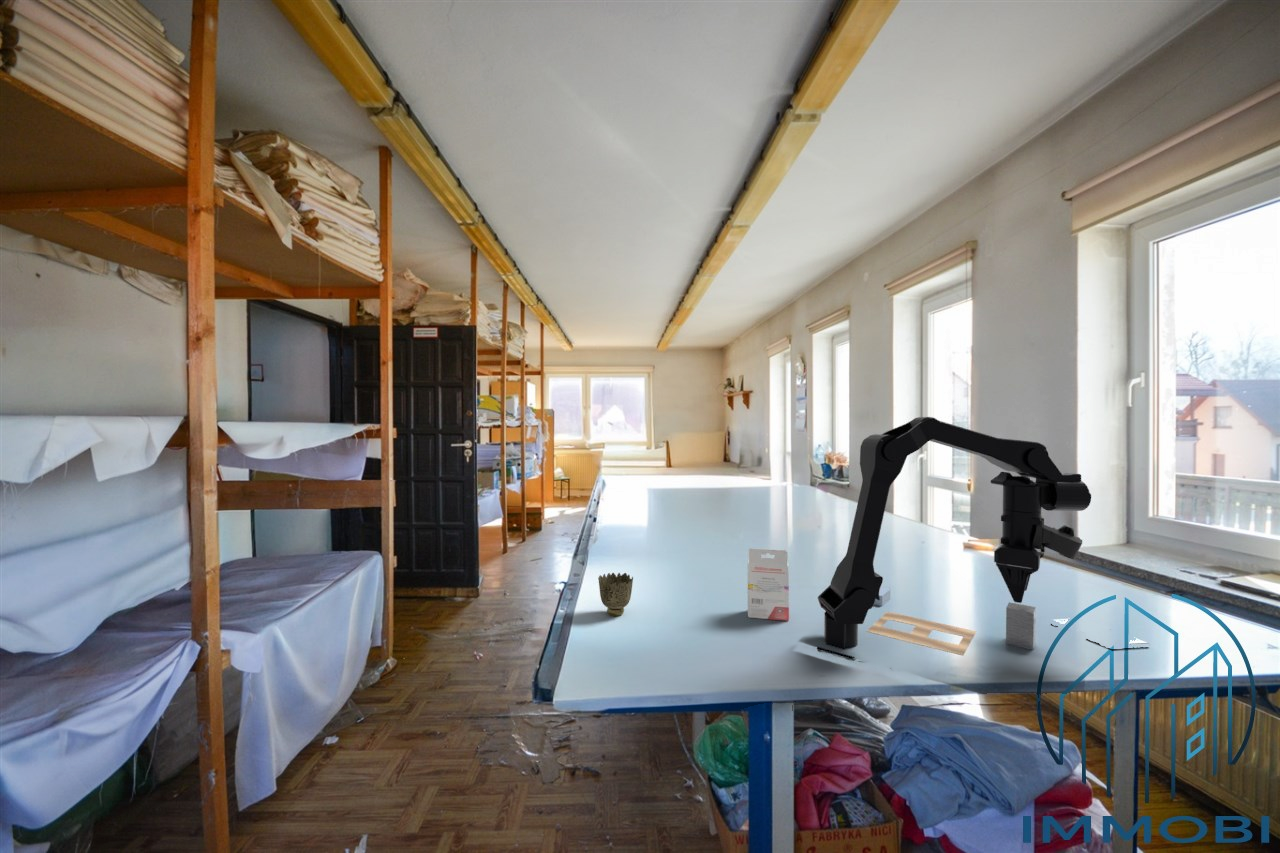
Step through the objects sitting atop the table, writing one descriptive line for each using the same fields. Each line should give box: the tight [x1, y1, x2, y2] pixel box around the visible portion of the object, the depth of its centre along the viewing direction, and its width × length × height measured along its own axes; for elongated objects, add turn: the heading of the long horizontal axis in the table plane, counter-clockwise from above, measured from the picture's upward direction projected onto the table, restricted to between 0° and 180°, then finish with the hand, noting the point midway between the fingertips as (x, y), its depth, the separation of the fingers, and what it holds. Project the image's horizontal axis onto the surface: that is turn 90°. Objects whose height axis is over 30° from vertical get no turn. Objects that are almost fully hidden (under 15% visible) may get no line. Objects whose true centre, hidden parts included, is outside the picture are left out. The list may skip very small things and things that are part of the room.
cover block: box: [874, 586, 891, 607], centre depth 120 cm, size 6×8×4 cm
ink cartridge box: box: [747, 547, 790, 622], centre depth 114 cm, size 9×5×15 cm, turn 76°
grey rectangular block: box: [1005, 602, 1036, 651], centre depth 96 cm, size 4×4×8 cm
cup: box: [598, 572, 634, 617], centre depth 114 cm, size 8×7×8 cm
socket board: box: [866, 611, 977, 656], centre depth 102 cm, size 14×16×2 cm
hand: (1020, 596), depth 96 cm, fingers open, 9 cm apart
